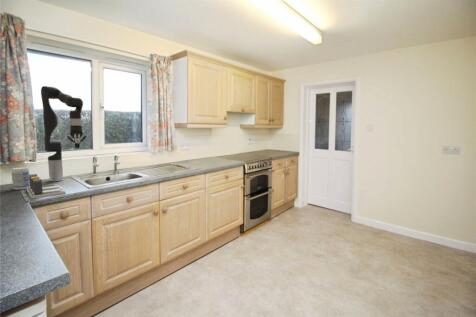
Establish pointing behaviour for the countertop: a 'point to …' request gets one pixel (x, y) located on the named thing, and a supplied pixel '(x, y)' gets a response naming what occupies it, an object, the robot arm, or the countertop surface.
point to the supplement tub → (20, 178)
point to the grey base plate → (43, 188)
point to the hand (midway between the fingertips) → (77, 148)
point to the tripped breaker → (32, 181)
